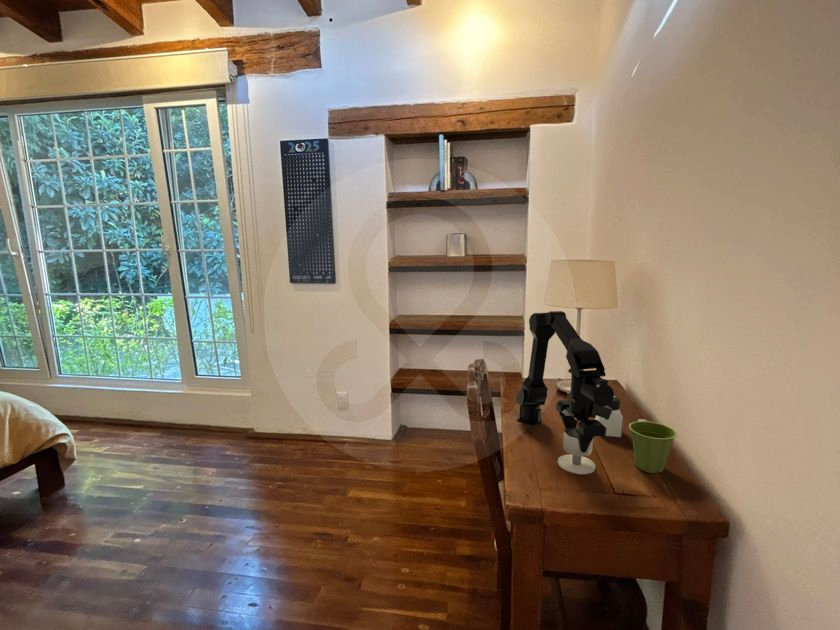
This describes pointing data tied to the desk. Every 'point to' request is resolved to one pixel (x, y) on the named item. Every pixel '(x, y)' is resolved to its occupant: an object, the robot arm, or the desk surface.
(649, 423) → the plant pot
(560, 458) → the hub post
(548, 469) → the desk surface
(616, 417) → the medicine bottle
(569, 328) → the robot arm
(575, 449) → the ring
